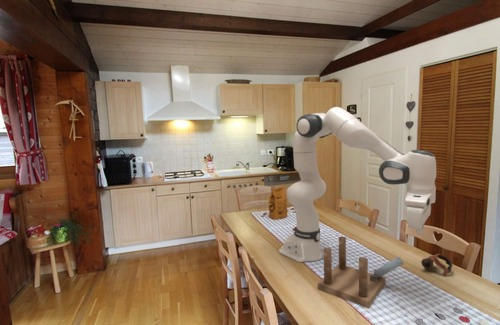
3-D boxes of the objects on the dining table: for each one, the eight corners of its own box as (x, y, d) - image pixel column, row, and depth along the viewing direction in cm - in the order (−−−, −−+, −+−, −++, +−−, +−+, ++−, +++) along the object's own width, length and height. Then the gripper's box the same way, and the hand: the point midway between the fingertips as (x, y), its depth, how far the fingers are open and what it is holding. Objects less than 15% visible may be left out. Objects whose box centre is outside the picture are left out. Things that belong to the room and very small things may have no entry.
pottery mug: (434, 264, 128) (445, 252, 124) (447, 282, 120) (460, 271, 116) (412, 261, 126) (422, 249, 122) (424, 279, 118) (436, 267, 114)
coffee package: (267, 217, 204) (266, 187, 202) (280, 213, 211) (279, 185, 208) (275, 220, 196) (274, 190, 193) (289, 217, 203) (288, 187, 200)
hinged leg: (372, 272, 112) (396, 258, 106) (375, 269, 115) (398, 255, 108) (378, 279, 111) (402, 265, 105) (380, 276, 114) (404, 262, 107)
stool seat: (317, 288, 113) (316, 250, 110) (338, 268, 127) (338, 234, 125) (368, 308, 99) (368, 264, 97) (385, 283, 114) (386, 245, 112)
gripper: (416, 189, 109) (415, 223, 110) (403, 201, 94) (402, 240, 95) (436, 191, 105) (434, 226, 106) (425, 203, 89) (423, 244, 91)
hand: (419, 233), depth 101 cm, fingers closed
